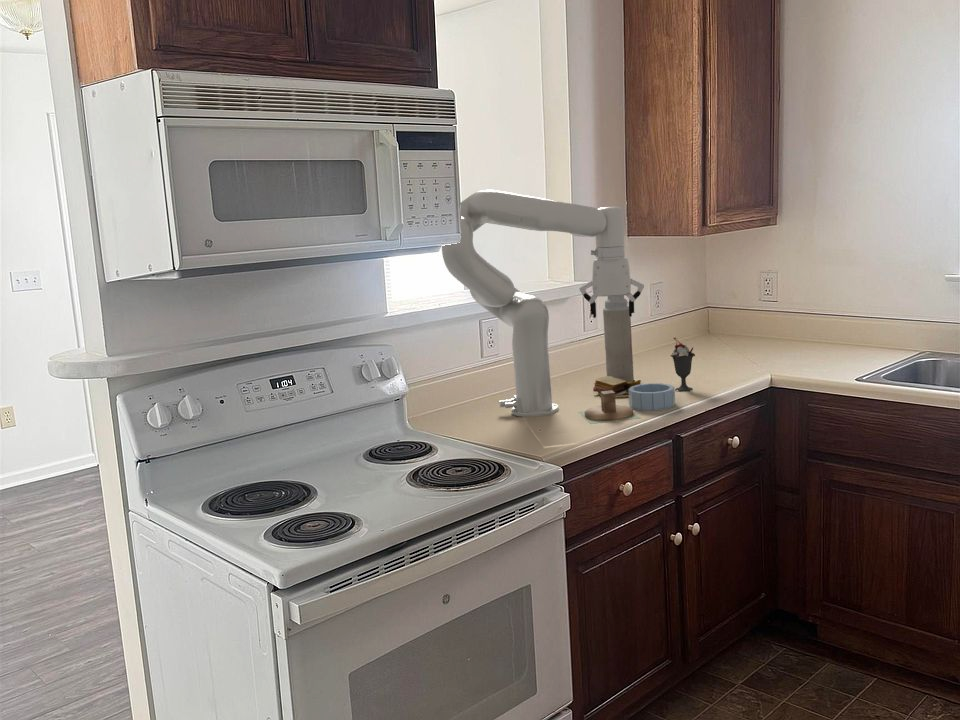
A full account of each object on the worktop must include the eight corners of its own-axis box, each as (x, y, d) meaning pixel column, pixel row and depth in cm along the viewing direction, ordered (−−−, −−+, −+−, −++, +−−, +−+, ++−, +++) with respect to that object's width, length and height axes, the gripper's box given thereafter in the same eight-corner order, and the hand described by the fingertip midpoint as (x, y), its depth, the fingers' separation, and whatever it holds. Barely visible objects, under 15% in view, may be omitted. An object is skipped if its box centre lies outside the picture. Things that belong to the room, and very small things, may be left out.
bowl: (637, 413, 227) (636, 395, 226) (624, 404, 238) (623, 386, 237) (680, 409, 228) (679, 390, 227) (666, 399, 239) (665, 381, 238)
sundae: (667, 389, 251) (664, 337, 249) (687, 385, 253) (685, 334, 251) (679, 393, 245) (677, 340, 242) (700, 389, 247) (698, 337, 244)
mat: (590, 425, 220) (590, 423, 220) (578, 413, 233) (578, 411, 232) (641, 419, 221) (641, 417, 221) (626, 408, 234) (626, 406, 234)
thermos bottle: (634, 378, 269) (629, 286, 264) (633, 383, 262) (628, 289, 257) (607, 379, 271) (602, 288, 266) (606, 384, 263) (600, 291, 258)
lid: (591, 423, 220) (589, 399, 219) (579, 412, 232) (578, 389, 231) (639, 417, 221) (638, 394, 220) (625, 406, 233) (624, 384, 232)
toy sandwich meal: (621, 402, 241) (620, 385, 240) (586, 396, 252) (585, 380, 251) (652, 393, 249) (651, 377, 248) (616, 388, 259) (616, 372, 258)
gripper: (577, 256, 235) (580, 319, 238) (643, 252, 232) (645, 317, 235) (578, 254, 242) (581, 316, 245) (642, 251, 240) (644, 313, 243)
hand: (612, 316), depth 240 cm, fingers open, 9 cm apart
